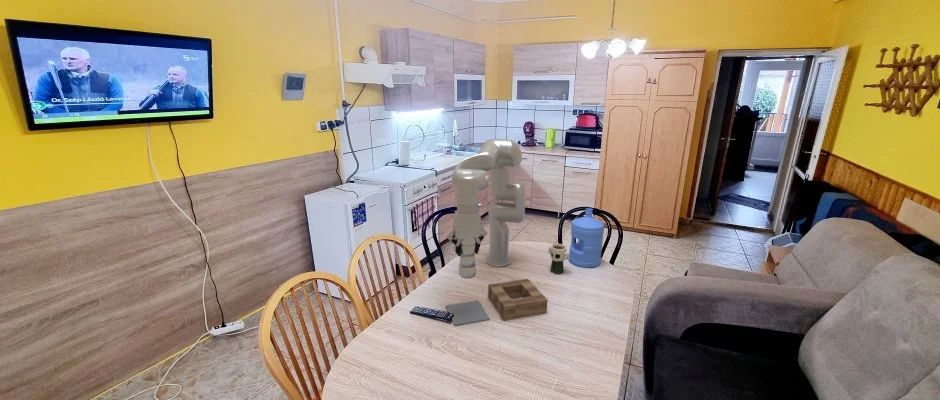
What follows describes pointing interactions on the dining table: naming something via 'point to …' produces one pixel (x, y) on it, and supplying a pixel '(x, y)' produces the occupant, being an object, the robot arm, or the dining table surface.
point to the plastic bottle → (467, 258)
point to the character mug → (558, 257)
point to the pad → (467, 313)
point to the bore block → (521, 307)
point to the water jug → (586, 241)
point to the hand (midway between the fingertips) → (467, 253)
